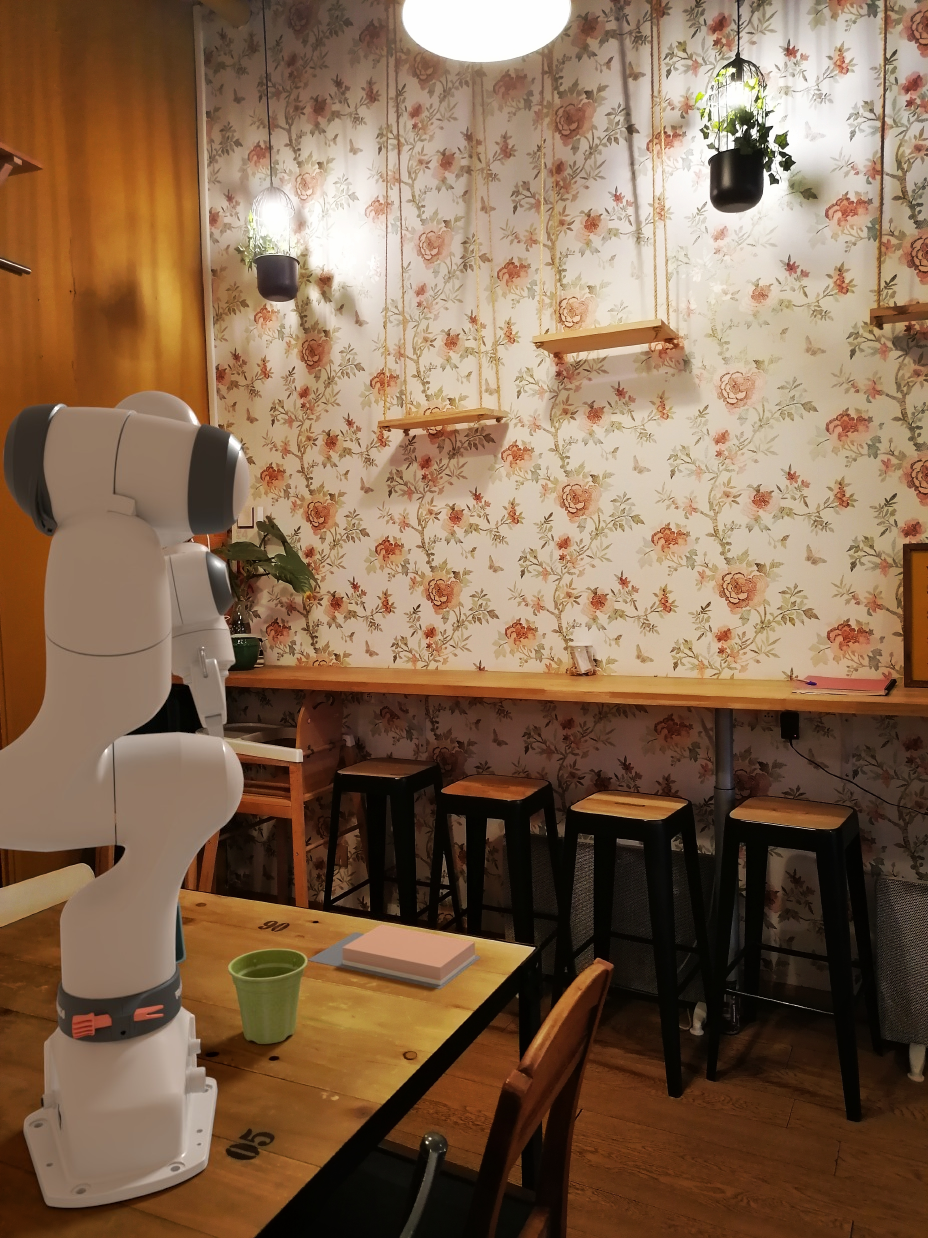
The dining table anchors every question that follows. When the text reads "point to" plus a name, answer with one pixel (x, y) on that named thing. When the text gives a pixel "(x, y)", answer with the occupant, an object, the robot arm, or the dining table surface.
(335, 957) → the mat
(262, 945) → the dining table surface
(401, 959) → the tile
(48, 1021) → the dining table surface
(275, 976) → the plant pot
